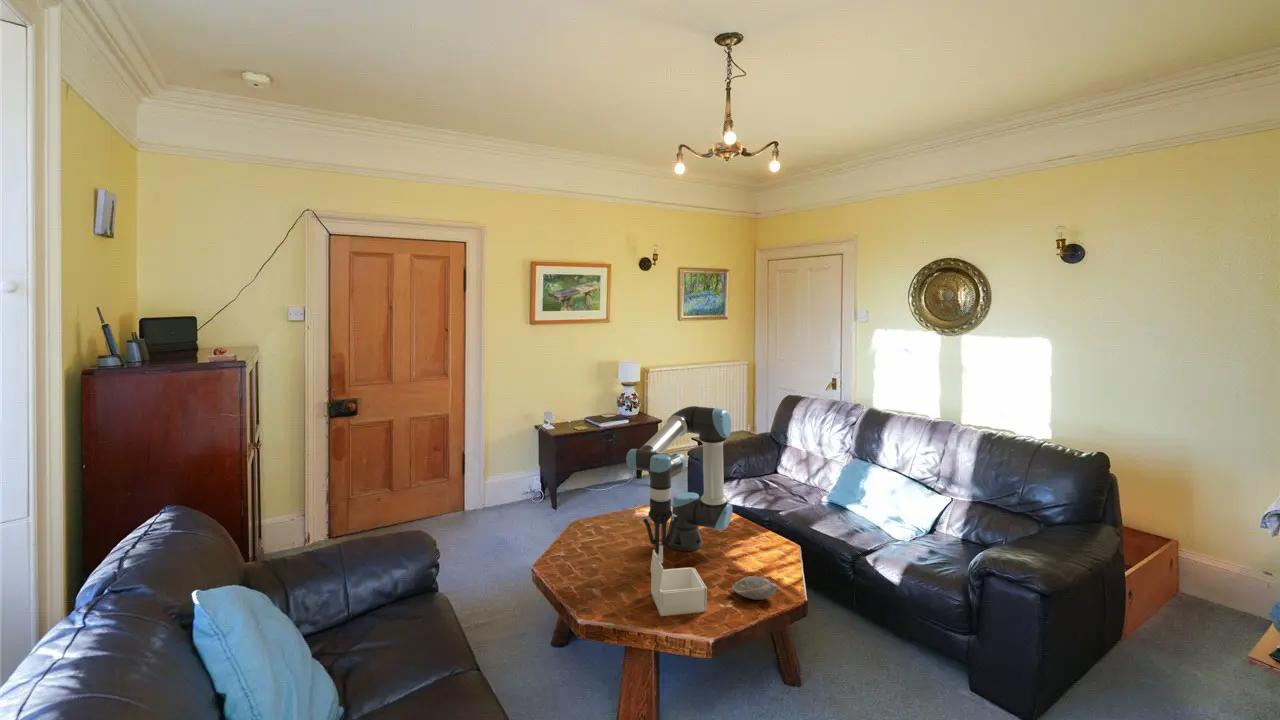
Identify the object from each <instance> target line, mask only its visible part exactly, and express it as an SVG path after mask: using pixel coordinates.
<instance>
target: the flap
mask: <svg viewBox="0 0 1280 720" xmlns="http://www.w3.org/2000/svg"><path fill="white" fill-rule="evenodd" d="M650 562H651V563H650V567H649V568H650V574H651V573H652V575H653V577H654V580H655V582H656V584H657V586H658V589H659V590H660V589H661V582H662V574H663V570H664V566H663V565H662V563H660V561H659V559H658V554H656V552H655V549H652V555H651V561H650Z"/></svg>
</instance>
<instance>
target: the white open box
mask: <svg viewBox="0 0 1280 720" xmlns="http://www.w3.org/2000/svg"><path fill="white" fill-rule="evenodd" d="M650 574H651V578H650V579H651V583H650V584H651V588H650V589H651V591H650V594H651V596H652V599H653V601H654V604H655V607H656V608H657V611H658V613H659V616H660V617H665V616H668V617H669V616H676V615H679V616H680V615H688V614H698V613H705V610H707V603H708V602H707V598H708V597H707V596H708V594H707V593H708V592H707V591H708V590H707V589H708V587H707V586H706V584H705V583H704V581H703V579H702V577H701V576H700V574H699V572H698V571H697V569H696V567H679V568H668V569H667V568H666V569H664V568H663V574H662V582H661V589H660V590H659V589H658V586H657V584H656V582H655V580H654V577H653V575H652V573H651V572H650Z"/></svg>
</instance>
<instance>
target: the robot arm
mask: <svg viewBox="0 0 1280 720" xmlns="http://www.w3.org/2000/svg"><path fill="white" fill-rule="evenodd" d="M689 433H690V434H696V435H698V437H699V438H698V439H699V441H700V442H701V443H702V456H703V457H702V459H703V460H702V461H703V463H702V465H703V466H702V467H703V494H702V495H701V496H699V493H696V492H691V491H690V492H689V491H687V492H682V493H678V494H675V496H673V498H672V478H673V477H675V476H676V475H678V474H681V473H682V471H684V470H685V469H686V467H687V459H686V456H685V455H684V454H683V453H681V452H678V451H674V452H671V453H666V450H668V448H669V447H670V446H671V445H673V443H674V442H676V441H677V439H679V438H680V437H683V436H684V435H686V434H689ZM731 433H732V418H731V415H730V414H729V412H728V411H727V410H726V409H723V408H722V409H721V408H718V407H706V406H705V407H704V406H696V405H693V406H687V407H683V408H681V409H679V410H678V411H676V412H674V413H672V415H670V416H669V417H668V418H667V420H666V424H664V425H663V426H662V427H661V428H660V429H659V430H658V431H657V432H656V433H655V434H654V435H653V436H652V437H651V438H650V439H649V440H648V441H646V443H644V444H643V445H642V446H641V447H640V448H639V449H638V448H631V449H630V450H628V452H627V454H626V458H625V459H626V465H627V467H628V468H629V469H633V470H638V471H645V472H649V512H648V515H646V516H644V517H642V521H643V523H644V524H645V527H646V531H647V534H648V539H649V540H648V541H650V544H651V545H654V550H655V552H656V555H657V557H658V559H659V561H660V563H661V564H663V563H664V554H665V553H666V552H667V551H666V550H667V547H666V546H667V545H668V546H669V548H671V549H673V550H675V551H679V552H693V551H697V550H699V549H701V548H702V546H703V540H702V537H701V534H700V533H701V532H700V529H699V527H703V528H708V529H712V530H713V529H714V530H716V531H717V530H718V531H725V530H726V529H727V528H728V526H729V525H730V522H731V519H732V515H733V505H732V504H731V503H728V497H727V496H726V495H725V491H724V490H725V487H724V486H725V485H724V483H725V482H724V481H725V479H724V474H725V473H724V443H725V442H726V441H727V438H729V437H730V436H731ZM664 452H665V453H664ZM671 498H672V499H671ZM651 521H652V522H653V524H654V535H653V533H652V532H653V531H652V526H651V524H650V522H651ZM668 522H669V525H667V523H668ZM660 525H661V528H660ZM667 526H668V530H667ZM660 533H661V542H660Z"/></svg>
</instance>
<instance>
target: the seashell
mask: <svg viewBox="0 0 1280 720" xmlns="http://www.w3.org/2000/svg"><path fill="white" fill-rule="evenodd" d="M731 588H732V589H733V591H734V592H735V593H737V595H739V596H740V595H741V596H742V597H745V598H747V599H751V600H766V599H770V598H771V597H773V596H774V595H775V594H776V591H777V589H778V585H777V584H776V583H774V582H771V581H770V580H769V579H767V578H765V577H761V576H749V575H748V576H744V577H743V578H741V579H740V580H738V581H735V582H734V585H732V587H731Z"/></svg>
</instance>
